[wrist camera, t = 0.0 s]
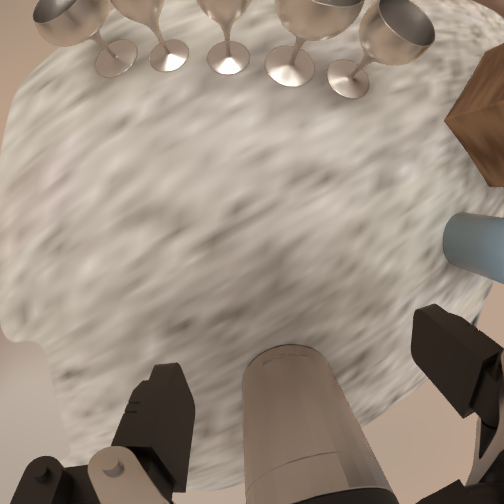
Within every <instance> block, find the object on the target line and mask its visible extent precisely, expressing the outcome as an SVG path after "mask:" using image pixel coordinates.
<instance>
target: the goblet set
mask: <svg viewBox="0 0 504 504" xmlns="http://www.w3.org/2000/svg"><path fill="white" fill-rule="evenodd" d="M110 1H111V3H112V4H113V6H114V7H115V8H116V9H117V10H118V11H119V12H120V13H121V14H122V15H124V16H125V17H127V18H129V19H131V20H133V21H136V22H139V23H142V24H144V25H146V26H148V27H149V28H150V29H151V30H152V31H153V32H154V33H155V35H156V36H157V38H158V40H159V41H160V44H158V45H157V46H156V47H155V48H154V49H153V50H152V52H151V54H150V59H149V60H150V64H151V66H152V67H153V68H154V69H155V70H157V71H160V72H170V71H173V70H176V69H178V68H179V67H181V66H182V65H183V64H184V63H185V62H186V60H187V58H188V56H189V49H188V46H187V45H186V44H185V43H184V42H182V41H180V40H175V39H171V40H166V41H164V39H163V37H162V34H161V31H160V28H159V17H160V13H161V10H162V7H163V3H164V0H40V1H39V2H38V4H37V5H36V7H35V10H34V13H33V20H34V22H35V25H36V27H37V30H38V32H39V33H40V35H41V36H42V37H43V38H44V40H45V41H47V42H48V43H50V44H52V45H55V46H59V47H68V46H73V45H77V44H79V43H82V42H84V41H86V40H88V39H91V40H94V41H96V42H97V43H99V44H100V45H101V46H102V47H103V48H104V49H103V50H102V51H101V52H100V54H99V55H98V57H97V60H96V65H95V66H96V71H97V73H98V74H99V75H100V76H102V77H105V78H112V77H116V76H119V75H121V74H122V73H124V72H125V71H127V70H128V69H129V68H130V67H131V66H132V64H133V63H134V61H135V59H136V56H137V47H136V45H135V44H134V43H133V42H132V41H130V40H117V41H114V42H112V43H110V44H109V45H106V44H105V42H104V41H103V40H102V38H101V36H100V33H99V30H100V28H101V27H102V26H103V24H104V22H105V21H106V19H107V17H108V14H109V11H110ZM196 1H197V3H198V5H199V6H200V8H201V9H202V11H203V12H204V13H205V14H206V15H207V16H208V17H210V18H211V19H213V20H214V21H216V22H217V23H218V24H219V25H220V26H221V28H222V30H223V33H224V37H225V42H221V43H219V44H217V45H215V46H214V47H213V48H212V49H211V50H210V51H209V53H208V57H207V61H208V64H209V66H210V68H211V69H212V70H214V71H215V72H217V73H220V74H224V75H231V74H236V73H238V72H240V71H242V70H243V69H245V68H246V66H247V65H248V63H249V60H250V54H249V51H248V50H247V48H246V47H245V46H244V45H242V44H240V43H238V42H234V41H230V31H231V27H232V25H233V23H234V22H235V21H236V20H237V19H238V18H239V17H240V16H241V15H242V14H243V13H244V12H245V11H246V9H247V8H248V6H249V4H250V2H251V0H196ZM364 1H365V0H275V7H276V11H277V14H278V17H279V19H280V21H281V23H282V24H283V26H284V27H285V28H286V29H287V30H288V31H289V32H290V33H292V34H293V35H295V36H296V43H295V47H294V46H280V47H277V48H275V49H273V50H272V51H270V52H269V54H268V55H267V57H266V60H265V68H266V71H267V73H268V75H269V76H270V77H271V78H272V79H273V80H274V81H276V82H277V83H279V84H281V85H284V86H289V87H297V86H302V85H304V84H306V83H308V82H309V81H310V80H311V79H312V77H313V75H314V72H315V66H314V62H313V60H312V58H311V57H310V56H309V55H308V54H307V53H306V52H305V51H304V50H302V49H300V48H301V46H302V45H303V43H304V42H305V41H306V40H308V41H321V40H326V39H330V38H332V37H335V36H337V35H339V34H340V33H342V32H343V31H345V30H346V29H347V28H348V27H349V26H350V25H351V24H352V23H353V22H354V21H355V20H356V18H357V17H358V15H359V13H360V11H361V9H362V7H363V4H364ZM359 39H360V43H361V46H362V48H363V50H364V56H363V58H362V60H361V62H360V63H359V64H356V63H354V62H352V61H349V60H343V59H342V60H336V61H334V62H332V63H331V64H330V65H329V67H328V69H327V79H328V82H329V84H330V86H331V87H332V88H333V90H334V91H335V92H337V93H338V94H339V95H341V96H343V97H346V98H350V99H357V98H361V97H363V96H364V95H365V94H366V93H367V91H368V89H369V79H368V76H367V74H366V72H365V71H364V70H363V69H362V68H363V67H365V66H366V65H368V64H369V63H372V62H378V63H381V64H385V65H403V64H406V63H409V62H412V61H414V60H416V59H417V58H419V57H420V56H421V55H423V54H424V53H425V52H426V51H427V50H428V48H429V47H430V46H431V45H432V44H433V42H434V40H435V30H434V27H433V25H432V23H431V21H430V19H429V18H428V16H427V15H426V14H425V13H424V12H423V11H422V10H421V9H420V8H419V7H418V6H417V5H415V4H414V3H412V2H411V1H409V0H378V1H377V2H375V3H374V4H373V5H372V6H371V7H370V8H369V9H368V10H367V11H366V13H365V14H364V16H363V18H362V21H361V23H360V28H359Z"/></svg>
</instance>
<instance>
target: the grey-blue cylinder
mask: <svg viewBox="0 0 504 504" xmlns="http://www.w3.org/2000/svg"><path fill="white" fill-rule="evenodd" d="M443 250H444V254H445V256H446V258H447V260H448V261H449V262H450V263H451V264H452V265H455V266H457V267H460V268H463V269H465V270H468V271H471V272H473V273H476V274H479V275H481V276H484V277H487V278H489V279H492V280H494V281H497V282H500V283H502V284H504V218H500V217H493V216H485V215H478V214H469V213H457V214H455V215H454V216H453V217H452V218H451V219H450V220H449V222H448V223H447V225H446V228H445V231H444V235H443Z"/></svg>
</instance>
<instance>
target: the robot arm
mask: <svg viewBox="0 0 504 504" xmlns="http://www.w3.org/2000/svg"><path fill="white" fill-rule="evenodd" d="M411 354H412V357H413V360H414V362H415V363H416V364H417V365H418V366H419V368H420V369H421V370H422V371H423V372H424V373H425V374H426V376H427V377H428V378H429V379H430V380H431V381H432V383H433V384H434V385H435V386H436V387H437V388H438V390H439V391H440V392H441V393H442V394H443V395H444V396H445V398H446V399H447V400H448V401H449V402H450V404H451V405H452V406H453V407H454V408H455V409H456V411H457V412H458V413H459V414H460V416H461V417H462V418H463V419H464V418H465V417H467V416H469V415H470V414H472V413H474V412H476V413H477V415H478V416H479V417H478V420H477V428H476V441H475V452H474V460H473V466H472V470H471V473H470V475H469V478H468V480H467V482H466V485H465V486H463V484H462V483H461V481H460V480H459V479H458V480H457V481H455V482H453V483H451V484H450V485H448V486H446V487H444V488H442V489H441V490H439V491H437V492H435V493H433V494H431V495H429V496H427V497H425V498H423V499H421V500H420V501H419V502H418V503H416V504H504V348H502V347H501V346H500V345H499V344H497V343H496V342H495V341H493V340H492V339H491V338H489V337H488V336H487V335H485V334H484V333H483V332H481V331H480V330H479V331H478V329H477V328H476V327H475V326H473V325H470V323H469V322H468V321H466V320H465V319H463V318H462V317H460V316H457V315H454V314H452V313H448V312H447V311H445V310H444V309H442V308H441V307H440V306H438V305H437V304H431V305H429V306H426V307H423V308H420V309H417V310H416V311H415V312H414V316H413V329H412V340H411ZM242 388H243V436H244V467H245V493H246V504H399V502H398V500H397V498H396V496H395V495H394V493H393V491H392V489H391V487H390V485H389V483H388V481H387V479H386V477H385V475H384V473H383V471H382V469H381V467H380V465H379V463H378V461H377V460H376V457H375V455H374V453H373V451H372V449H371V447H370V446H369V443H368V441H367V439H366V437H365V435H364V433H363V431H362V429H361V427H360V425H359V423H358V421H357V419H356V417H355V416H354V414H353V412H352V410H351V408H350V406H349V404H348V402H347V400H346V398H345V396H344V394H343V392H342V390H341V388H340V386H339V384H338V382H337V380H336V378H335V376H334V374H333V372H332V371H331V369H330V367H329V365H328V363H327V361H326V360H325V359H324V357H323V356H322V355H321V354H319V353H318V352H317V351H315V350H313V349H311V348H308V347H305V346H301V345H286V346H279V347H276V348H273V349H270V350H268V351H266V352H264V353H262V354H261V355H259V356H258V357H257V358H255V359H254V360H253V361H252V362H251V364H250V365H249V366H248V368H247V369H246V371H245V373H244V377H243V381H242ZM194 420H195V404H194V400H193V397H192V394H191V392H190V389H189V387H188V384H187V382H186V379H185V377H184V374H183V371H182V369H181V367H180V365H179V364H178V363H169V364H159V365H155V366H154V368H153V370H152V373H151V375H150V378H149V380H146V381H142V382H141V383H140V384H139V385H138V386H137V387H136V388H135V389H134V390H133V392H132V394H131V397H130V399H129V404H127V406H126V409H125V413H124V414H123V416H122V419H121V421H120V424H119V426H118V429H117V431H116V434H115V436H114V439H113V442H112V444H111V447H107V448H104V449H102V450H100V451H98V452H97V453H96V454H95V455H94V456H93V457H92V458H91V460H90V461H89V464H88V465H83V466H75V467H66V468H64V467H63V466H62V465H61V463H60V462H59V461H58V460H57V459H55V458H54V457H51V456H42V457H39V458H36V459H34V460H33V461H32V462H30V464H29V465H28V466H27V468H26V469H25V471H24V473H23V476H22V478H21V480H20V482H19V484H18V486H17V489H16V491H15V493H14V496H13V498H12V500H11V503H10V504H175V503H174V502H173V501H172V493H173V492H181V493H183V492H186V483H187V475H188V466H189V458H190V450H191V442H192V434H193V427H194Z"/></svg>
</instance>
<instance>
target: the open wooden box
mask: <svg viewBox="0 0 504 504" xmlns="http://www.w3.org/2000/svg"><path fill="white" fill-rule="evenodd" d="M444 121H445V122H446V124H447V125H448V126H449V127H450V129H451V130H452V131H453V133H454V134H455V135H456V137H457V138H458V139H459V141H460V142H461V144H462V145H463V146H464V148H465V149H466V151H467V152H468V154H469V155H470V157H471V158H472V160H473V161H474V163H475V164H476V166H477V167H478V169H479V170H480V172H481V174H482V175H483V177H484V178H485V180H486V182H487V183H488V185H489V187H504V43H503V44H501V45H499V46H496V47H494V48H492V49H490V50H488V51H486V52H485V54H484V56H483V58H482V60H481V61H480V63H479V65H478V67H477V68H476V70H475V72H474V73H473V75H472V77H471V79H470V80H469V82H468V84H467V85H466V87H465V89H464V90H463V92H462V93H461V95H460V97H459V98H458V100H457V101H456V103H455V105H454V106H453V108H452V109H451V111H450V112H449V114H448V115H447V117H446V118H445V120H444Z"/></svg>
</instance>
